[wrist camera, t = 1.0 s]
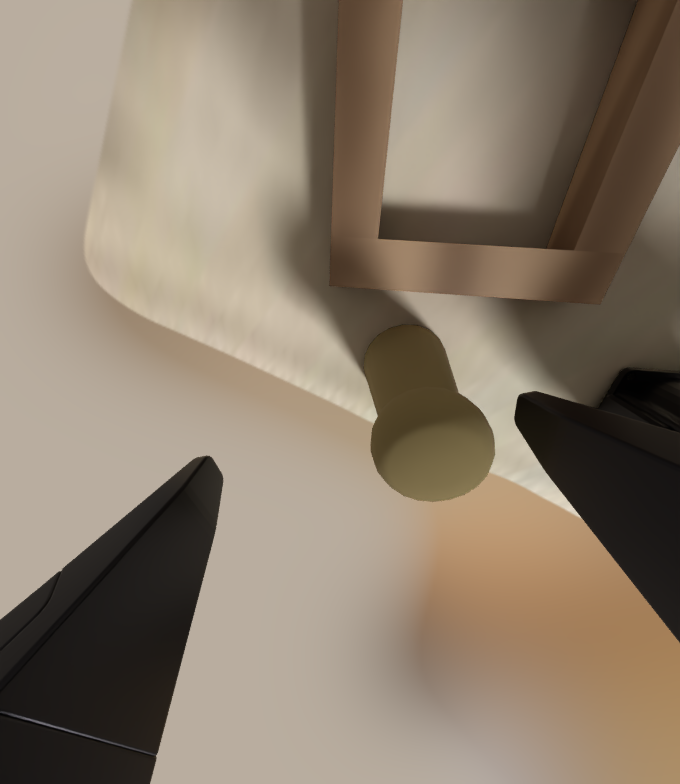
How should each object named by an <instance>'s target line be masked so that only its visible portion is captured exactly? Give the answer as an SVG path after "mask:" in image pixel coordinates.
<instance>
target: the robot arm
mask: <svg viewBox="0 0 680 784" xmlns="http://www.w3.org/2000/svg"><path fill="white" fill-rule="evenodd" d="M629 374H630V376H628V375H629ZM627 376H628V377H627ZM514 419H515V424H516V426H517V428H518V429H519V431H520V432H521V434H522V435H523V437H524V439H525V440H526V442H527V443H528V445H529V447H530V448H531V450H532V451H533V453H534V455H535V456H536V458H537V459H538V461H539V463H540V464H541V466H542V467H543V469H544V470H545V471H546V473H547V474H548V475H549V477H550V478H551V479H552V481H553V482H554V483H555V485H556V486H557V487H558V488H559V490H560V491H561V492H562V494H563V495H564V496H565V497H566V499H567V500H568V501H569V502H570V504H571V505H572V506H573V508H574V509H575V510H576V511H577V513H578V514H579V515H580V516H581V518H582V519H583V520H584V521H585V523H586V524H587V525H588V527H589V528H590V529H591V530H592V532H593V533H594V534H595V535H596V537H597V538H598V539H599V540H600V542H601V543H602V544H603V546H604V547H605V548H606V549H607V551H608V552H609V553H610V554H611V556H612V557H613V558H614V560H615V561H616V562H617V563H618V564H619V566H620V567H621V568H622V570H623V571H624V572H625V574H626V575H627V576H628V577H629V579H630V580H631V581H632V582H633V584H634V585H635V586H636V588H637V589H638V590H639V591H640V593H641V594H642V595H643V596H644V598H645V599H646V600H647V602H648V603H649V604H650V605H651V606H652V608H653V609H654V611H655V612H656V613H657V614H658V615H659V617H660V618H661V619H662V620H663V622H664V623H665V625H666V626H667V627H668V628H669V630H670V631H671V632H672V633H673V635H674V636H675V637H676V639H677V640H678V641H679V642H680V372H679V371H667V370H654V369H642V368H626V369H624V370H622V371H621V372H620V373H619V375H618V376H617V378H616V380H615V381H614V383H613V385H612V386H611V388H610V390H609V391H608V393H607V395H606V396H605V398H604V400H603V401H602V403H601V405H600V406H599V408H598V409H596V408H592V407H589V406H585V405H582V404H579V403H575V402H572V401H568V400H565V399H561V398H558V397H555V396H551V395H548V394H544V393H541V392H537V391H532V392H527V393H522V394H520V395H519V396H518V399H517V404H516V410H515V416H514ZM222 486H223V476H222V473H221V471H220V470H219V468H218V466H217V465H216V463H215V462H214V460H213V458H212V457H210V456H202V457H197V458H195V459H193V460H192V461H191V462H189V463H188V464H187V465H186V466H185V467H183V468H182V469H181V470H180V471H179V472H177V473H176V474H175V475H174V476H173V477H172V478H170V479H169V480H168V481H167V482H166V483H164V484H163V485H162V486H161V487H160V488H158V489H157V490H156V491H155V492H154V493H153V494H151V495H150V496H149V497H148V498H146V499H145V500H144V501H143V502H142V503H140V504H139V505H138V506H137V507H136V508H134V509H133V510H132V511H131V512H130V513H128V514H127V515H126V516H125V517H124V518H122V519H121V520H120V521H119V522H118V523H116V524H115V525H114V526H113V527H112V528H110V529H109V530H108V531H107V532H106V533H105V534H103V535H102V536H101V537H100V538H99V539H97V540H96V541H95V542H94V543H93V544H91V545H90V546H89V547H88V548H87V549H85V550H84V551H83V552H82V553H81V554H79V555H78V556H77V557H76V558H75V559H73V560H72V561H71V562H70V563H69V564H67V565H66V566H65V567H64V568H63V569H62V571H59V572H58V573H56V574H55V575H54V576H53V577H52V578H50V579H49V580H48V581H47V582H46V583H45V584H43V585H42V586H41V587H40V588H39V589H37V590H36V591H35V592H34V593H32V594H31V595H30V596H29V597H28V598H26V599H25V600H24V601H23V602H21V603H20V604H19V605H18V606H17V607H15V608H14V609H13V610H12V611H11V612H9V613H8V614H7V615H6V616H4V617H3V618H2V619H1V620H0V784H150V781H151V778H152V774H153V770H154V766H155V762H156V755H157V753H158V750H159V746H160V742H161V738H162V734H163V731H164V727H165V723H166V719H167V715H168V711H169V708H170V704H171V700H172V696H173V692H174V688H175V685H176V681H177V677H178V673H179V669H180V666H181V662H182V658H183V654H184V650H185V646H186V642H187V639H188V635H189V631H190V627H191V623H192V620H193V616H194V612H195V608H196V604H197V600H198V597H199V593H200V589H201V585H202V581H203V577H204V573H205V570H206V566H207V562H208V558H209V554H210V551H211V547H212V543H213V539H214V534H215V530H216V525H217V519H218V512H219V506H220V499H221V493H222Z"/></svg>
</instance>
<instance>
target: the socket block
mask: <svg viewBox="0 0 680 784" xmlns="http://www.w3.org/2000/svg"><path fill="white" fill-rule="evenodd" d="M402 4H403V0H339V6H338V37H337V68H336V99H335V130H334V161H333V192H332V223H331V254H330V285H329V286H338V287H353V288H367V289H382V290H396V291H411V292H426V293H440V294H455V295H469V296H484V297H498V298H513V299H527V300H542V301H556V302H571V303H586V304H601V302H602V300H603V298H604V296H605V294H606V292H607V290H608V288H609V286H610V284H611V282H612V280H613V278H614V275H615V273H616V271H617V269H618V267H619V265H620V263H621V261H622V259H623V257H624V255H625V253H626V251H627V249H628V247H629V245H630V243H631V241H632V239H633V237H634V235H635V233H636V231H637V229H638V227H639V225H640V223H641V221H642V219H643V217H644V215H645V213H646V211H647V209H648V207H649V205H650V203H651V201H652V199H653V197H654V195H655V193H656V191H657V189H658V187H659V185H660V183H661V181H662V179H663V177H664V175H665V173H666V171H667V169H668V167H669V165H670V163H671V161H672V159H673V157H674V155H675V153H676V151H677V149H678V147H679V145H680V0H638V2H637V4H636V7H635V10H634V12H633V15H632V18H631V21H630V23H629V26H628V29H627V31H626V34H625V37H624V40H623V42H622V45H621V48H620V50H619V53H618V56H617V59H616V61H615V64H614V67H613V69H612V72H611V75H610V77H609V80H608V83H607V86H606V88H605V91H604V94H603V96H602V99H601V102H600V105H599V107H598V110H597V113H596V115H595V118H594V121H593V124H592V126H591V129H590V132H589V134H588V137H587V140H586V142H585V145H584V148H583V151H582V153H581V156H580V159H579V161H578V164H577V167H576V170H575V172H574V175H573V178H572V180H571V183H570V186H569V189H568V191H567V194H566V197H565V199H564V202H563V205H562V207H561V210H560V213H559V216H558V218H557V221H556V224H555V226H554V229H553V232H552V235H551V237H550V240H549V243H548V245H547V248H546V249H539V248H522V247H505V246H488V245H471V244H455V243H438V242H421V241H404V240H387V239H378V234H379V224H380V215H381V205H382V195H383V186H384V176H385V167H386V157H387V148H388V138H389V129H390V119H391V109H392V100H393V90H394V81H395V71H396V62H397V52H398V43H399V33H400V23H401V14H402Z"/></svg>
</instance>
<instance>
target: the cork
mask: <svg viewBox="0 0 680 784" xmlns="http://www.w3.org/2000/svg"><path fill="white" fill-rule="evenodd" d="M364 371H365V375H366V378H367V382H368V385H369V388H370V392H371V395H372V398H373V401H374V405H375V408H376V411H377V414H378V417H377V419H376V421H375V423H374V425H373V428H372V436H371V453H372V457H373V460H374V463H375V466H376V468H377V471H378V473H379V474H380V475H381V476H382V478H383V479H384V480H385V482H386V483H387V484H388V485H389V486H390V487H391V488H393V489H394V490H396V491H397V492H399V493H400V494H402V495H403V496H406V497H409V498H412V499H415V500H420V501H430V502H436V501H444V500H451V499H453V498H456V497H459V496H462V495H465V494H466V493H468V492H470V491H471V490H473V489H474V488H476V487H477V486H478V485H479V484H480V483H481V482H482V481H483V480H484V479H485V477H486V476H487V475H488V473H489V470H490V467H491V465H492V462H493V459H494V456H495V443H494V436H493V431H492V429H491V427H490V425H489V423H488V421H487V419H486V417H485V416H484V414H483V413H482V412H481V410H480V409H479V408H478V407H477V406H475V405H474V404H473V403H472V402H471V401H469V400H468V399H467V398H466V397H464V396H462V395H461V394H459V393H458V389H457V386H456V383H455V380H454V377H453V373H452V370H451V367H450V364H449V361H448V358H447V354H446V351H445V348H444V347H443V345H442V343H441V341H440V339H439V338H438V337H437V336H436V335H435V334H433V333H432V332H431V331H430V330H428V329H425V328H423V327H420V326H418V325H400V326H396V327H392V328H389V329H388V330H386V331H384V332H383V333H381V334H379V335H378V336H377V337H376V338H375V339H374V341H373V342H372V343H371V344H370V345H369V347H368V350H367V352H366V354H365V358H364Z"/></svg>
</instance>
